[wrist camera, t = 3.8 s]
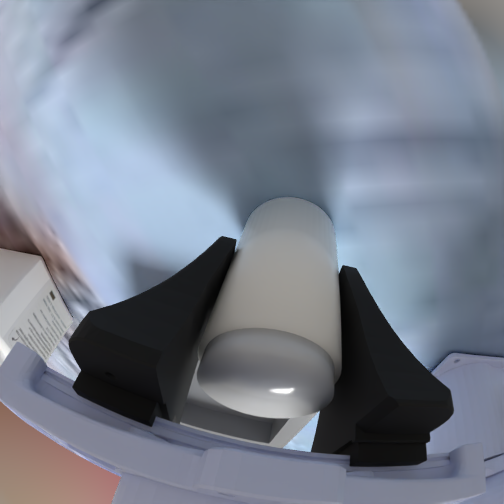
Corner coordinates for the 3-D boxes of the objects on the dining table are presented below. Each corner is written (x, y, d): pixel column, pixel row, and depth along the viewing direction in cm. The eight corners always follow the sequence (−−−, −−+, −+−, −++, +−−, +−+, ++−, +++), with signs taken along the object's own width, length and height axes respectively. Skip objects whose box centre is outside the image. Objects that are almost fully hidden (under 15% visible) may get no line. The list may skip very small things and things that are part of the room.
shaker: (347, 210, 13) (368, 367, 6) (320, 282, 16) (312, 427, 9) (252, 187, 13) (189, 328, 7) (238, 263, 16) (190, 401, 9)
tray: (347, 338, 18) (348, 377, 16) (284, 425, 28) (280, 449, 26) (152, 291, 19) (133, 324, 16) (168, 396, 29) (159, 419, 27)
